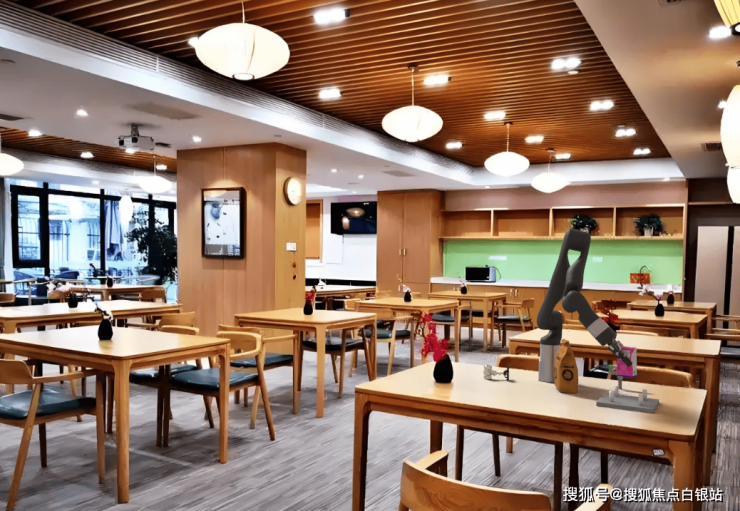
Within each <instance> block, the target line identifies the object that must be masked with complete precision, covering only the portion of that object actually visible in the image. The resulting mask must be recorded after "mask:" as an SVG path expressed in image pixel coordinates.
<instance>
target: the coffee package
mask: <svg viewBox="0 0 740 511" xmlns="http://www.w3.org/2000/svg"><path fill="white" fill-rule="evenodd" d="M561 343H562V344H561V345H560V349H559V350H558V352H557V353H556V356H555V367H554V380H555V382H554V386H555V388H556V389H557V390H558V391H559V392H560V393H561V392H563V393H565V394H578V390H579V369H578V365H577V362H576V361H577V360H576V356H575V354H574V352H573V349H572V346H571V344H570V340H567V339H565V338H562V339H561Z"/></svg>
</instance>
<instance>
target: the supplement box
mask: <svg viewBox="0 0 740 511" xmlns="http://www.w3.org/2000/svg"><path fill="white" fill-rule="evenodd" d="M621 348H622V350H623V353H624V354H625V355H626V356H627V358H628V359H629V360H630V361H631V362H632V363H633V364H632V365H631V366H630V367H628V366H627V365H626V364H625V363H624V362H623V361H622V360H620V359H618V358H617V357H616V366H617V375H616V377H617V376H622V377H623V378H630V379H632V378H635V377H638V372H637V371H638V370H637V367H638V366H637V364H638V363H637V362H638V361H637V355H638V354H637V347H636V346H626V345H623V346H621ZM626 356H625V357H626Z"/></svg>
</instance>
